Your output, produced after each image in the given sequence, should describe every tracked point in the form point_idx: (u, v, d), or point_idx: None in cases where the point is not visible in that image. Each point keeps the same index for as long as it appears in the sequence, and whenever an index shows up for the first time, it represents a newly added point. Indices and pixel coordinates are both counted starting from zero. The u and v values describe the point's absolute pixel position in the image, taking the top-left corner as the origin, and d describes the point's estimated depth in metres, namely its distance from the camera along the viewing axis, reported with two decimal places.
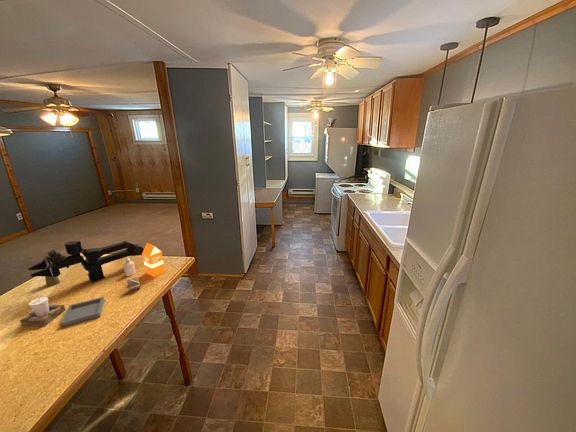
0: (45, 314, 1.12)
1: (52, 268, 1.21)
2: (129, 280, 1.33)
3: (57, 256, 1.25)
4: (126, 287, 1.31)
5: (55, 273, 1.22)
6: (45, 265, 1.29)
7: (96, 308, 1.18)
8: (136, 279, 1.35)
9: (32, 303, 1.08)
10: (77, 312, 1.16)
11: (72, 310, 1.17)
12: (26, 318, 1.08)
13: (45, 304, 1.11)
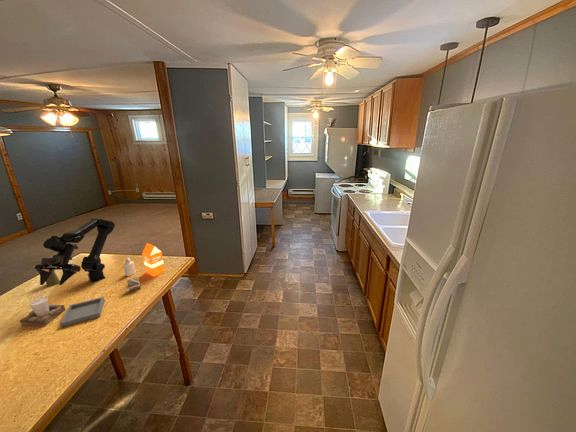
0: (45, 314, 1.12)
1: (72, 268, 1.18)
2: (129, 280, 1.33)
3: (59, 259, 1.16)
4: (126, 287, 1.31)
5: (78, 269, 1.21)
6: (47, 272, 1.19)
7: (96, 308, 1.18)
8: (136, 279, 1.35)
9: (32, 303, 1.08)
10: (77, 312, 1.16)
11: (72, 310, 1.17)
12: (26, 318, 1.08)
13: (45, 304, 1.11)
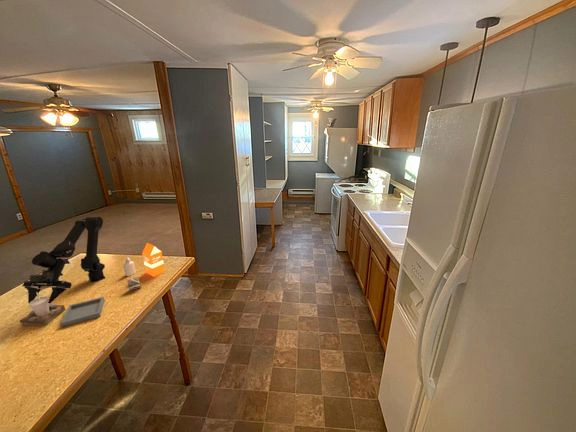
0: (45, 314, 1.12)
1: (62, 285, 1.12)
2: (129, 280, 1.33)
3: (48, 276, 1.11)
4: (127, 287, 1.32)
5: (68, 285, 1.15)
6: (36, 289, 1.14)
7: (96, 308, 1.18)
8: (136, 279, 1.35)
9: (32, 303, 1.08)
10: (77, 312, 1.16)
11: (72, 310, 1.17)
12: (26, 318, 1.08)
13: (45, 304, 1.11)
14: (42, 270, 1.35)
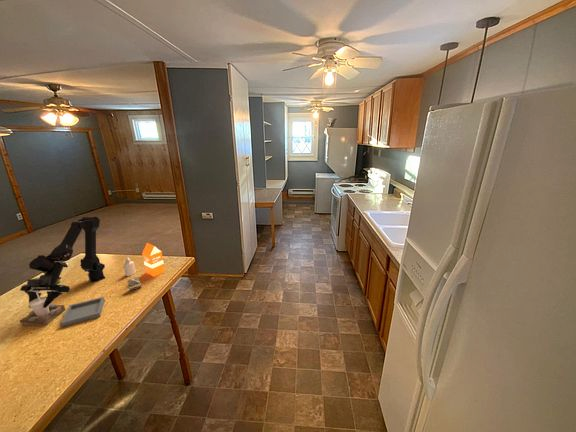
0: (45, 314, 1.12)
1: (60, 289, 1.11)
2: (130, 280, 1.33)
3: (46, 280, 1.09)
4: (127, 287, 1.32)
5: (66, 289, 1.14)
6: None
7: (96, 308, 1.18)
8: (137, 278, 1.35)
9: (32, 303, 1.08)
10: (77, 312, 1.16)
11: (72, 310, 1.17)
12: (26, 318, 1.08)
13: None
14: None
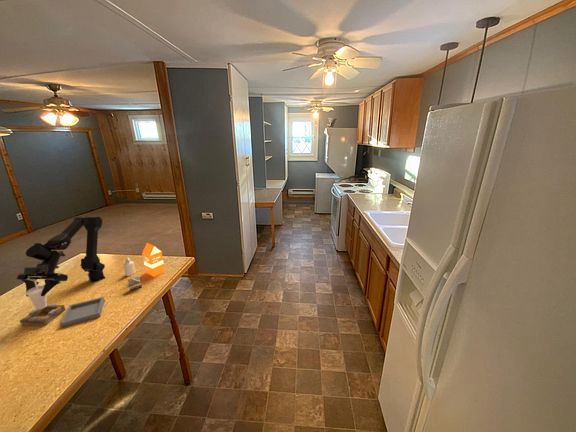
0: (42, 303, 1.10)
1: (58, 277, 1.10)
2: (130, 279, 1.34)
3: (43, 268, 1.08)
4: (128, 286, 1.32)
5: (64, 278, 1.13)
6: (34, 282, 1.11)
7: (96, 308, 1.18)
8: (137, 278, 1.36)
9: (30, 292, 1.07)
10: (77, 312, 1.16)
11: (72, 310, 1.17)
12: (26, 318, 1.08)
13: None
14: None
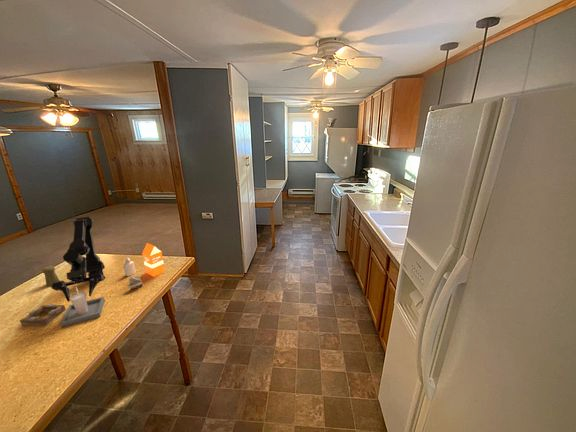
0: (86, 307, 1.15)
1: (101, 276, 1.18)
2: (131, 278, 1.34)
3: (85, 270, 1.14)
4: (129, 285, 1.33)
5: (103, 277, 1.21)
6: (67, 288, 1.13)
7: (96, 308, 1.18)
8: (138, 277, 1.37)
9: (74, 298, 1.11)
10: None
11: (72, 310, 1.17)
12: (26, 318, 1.08)
13: None
14: (42, 270, 1.35)
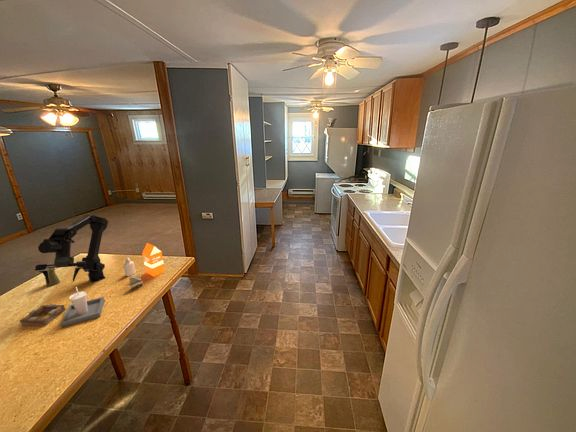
0: (86, 307, 1.15)
1: (85, 265, 1.25)
2: (131, 278, 1.35)
3: (73, 260, 1.19)
4: (129, 285, 1.33)
5: None
6: None
7: (96, 308, 1.18)
8: (138, 276, 1.37)
9: (74, 298, 1.11)
10: None
11: (72, 310, 1.17)
12: (26, 318, 1.08)
13: None
14: None
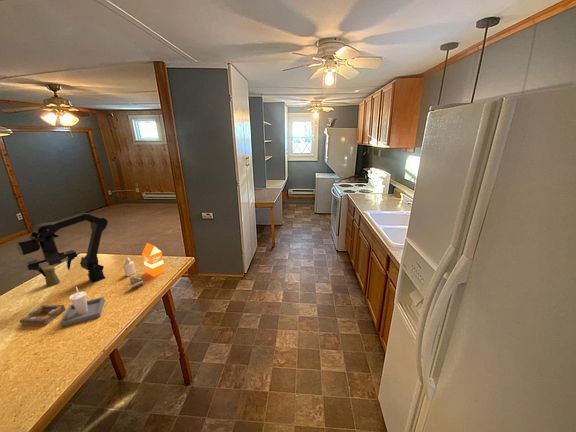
0: (86, 307, 1.15)
1: (76, 255, 1.30)
2: (132, 277, 1.35)
3: (64, 255, 1.23)
4: (130, 284, 1.34)
5: None
6: (40, 266, 1.21)
7: (96, 308, 1.18)
8: (138, 276, 1.38)
9: (74, 298, 1.11)
10: (77, 312, 1.16)
11: (72, 310, 1.17)
12: (26, 318, 1.08)
13: None
14: None
